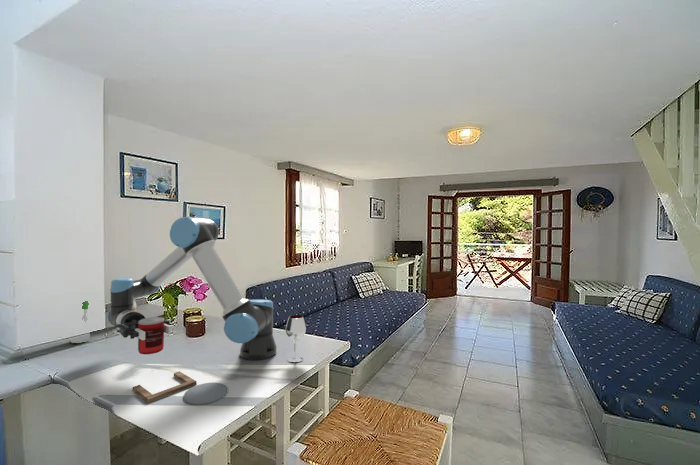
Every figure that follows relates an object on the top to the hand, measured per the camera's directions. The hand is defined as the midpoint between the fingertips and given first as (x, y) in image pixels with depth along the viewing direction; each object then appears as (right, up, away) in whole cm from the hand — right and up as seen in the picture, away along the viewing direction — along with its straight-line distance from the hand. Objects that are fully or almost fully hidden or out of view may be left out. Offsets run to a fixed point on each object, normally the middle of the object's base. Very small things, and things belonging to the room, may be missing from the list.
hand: (157, 333), depth 111 cm
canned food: (-4, -7, +3) cm, 9 cm away
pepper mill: (-43, -16, +84) cm, 96 cm away
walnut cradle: (+5, -17, -4) cm, 18 cm away
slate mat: (+20, -17, -7) cm, 28 cm away
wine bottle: (-57, -16, +36) cm, 69 cm away
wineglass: (+44, -18, +21) cm, 52 cm away
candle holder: (-54, -15, +64) cm, 85 cm away
